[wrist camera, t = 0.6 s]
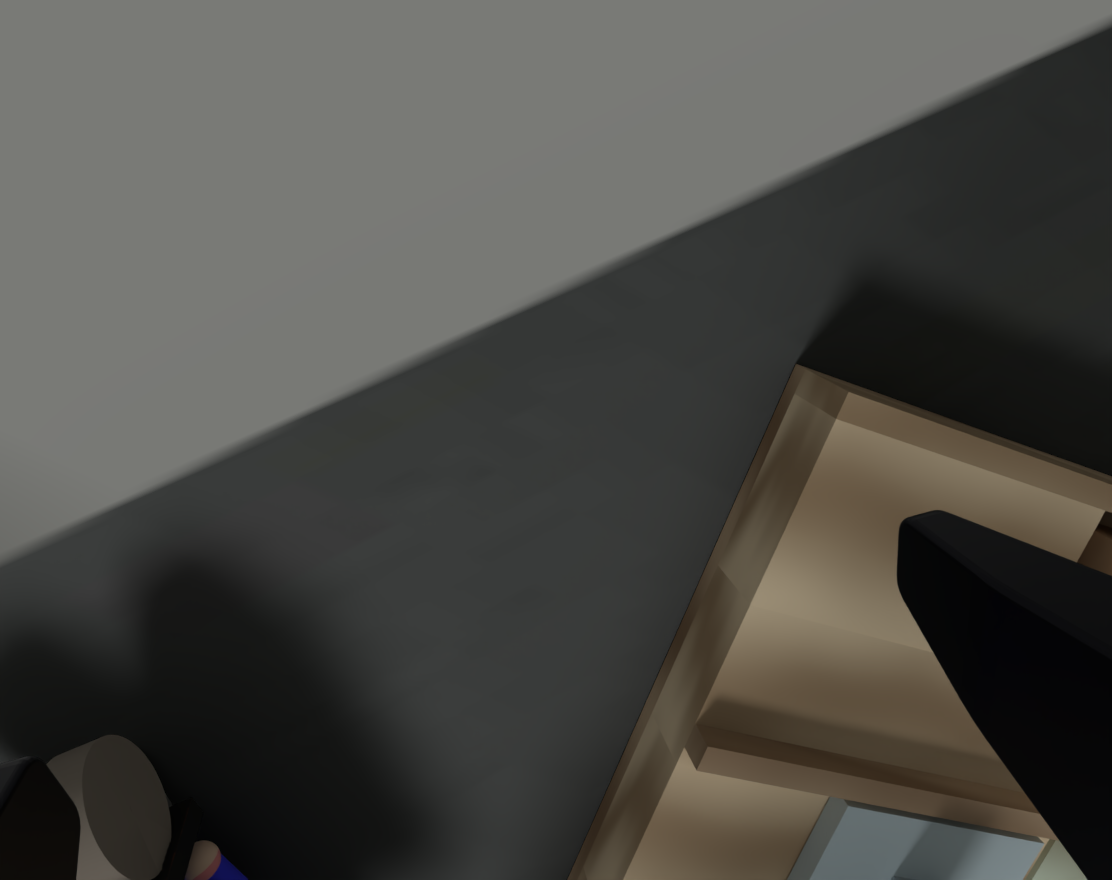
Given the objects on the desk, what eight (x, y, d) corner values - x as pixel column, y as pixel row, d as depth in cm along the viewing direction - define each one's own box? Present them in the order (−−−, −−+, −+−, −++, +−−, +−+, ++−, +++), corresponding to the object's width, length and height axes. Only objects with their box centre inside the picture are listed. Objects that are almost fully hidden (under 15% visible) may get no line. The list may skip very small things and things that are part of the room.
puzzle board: (1020, 953, 35) (1096, 1049, 31) (563, 887, 29) (590, 995, 26) (1278, 535, 31) (1402, 590, 27) (795, 363, 25) (869, 402, 21)
